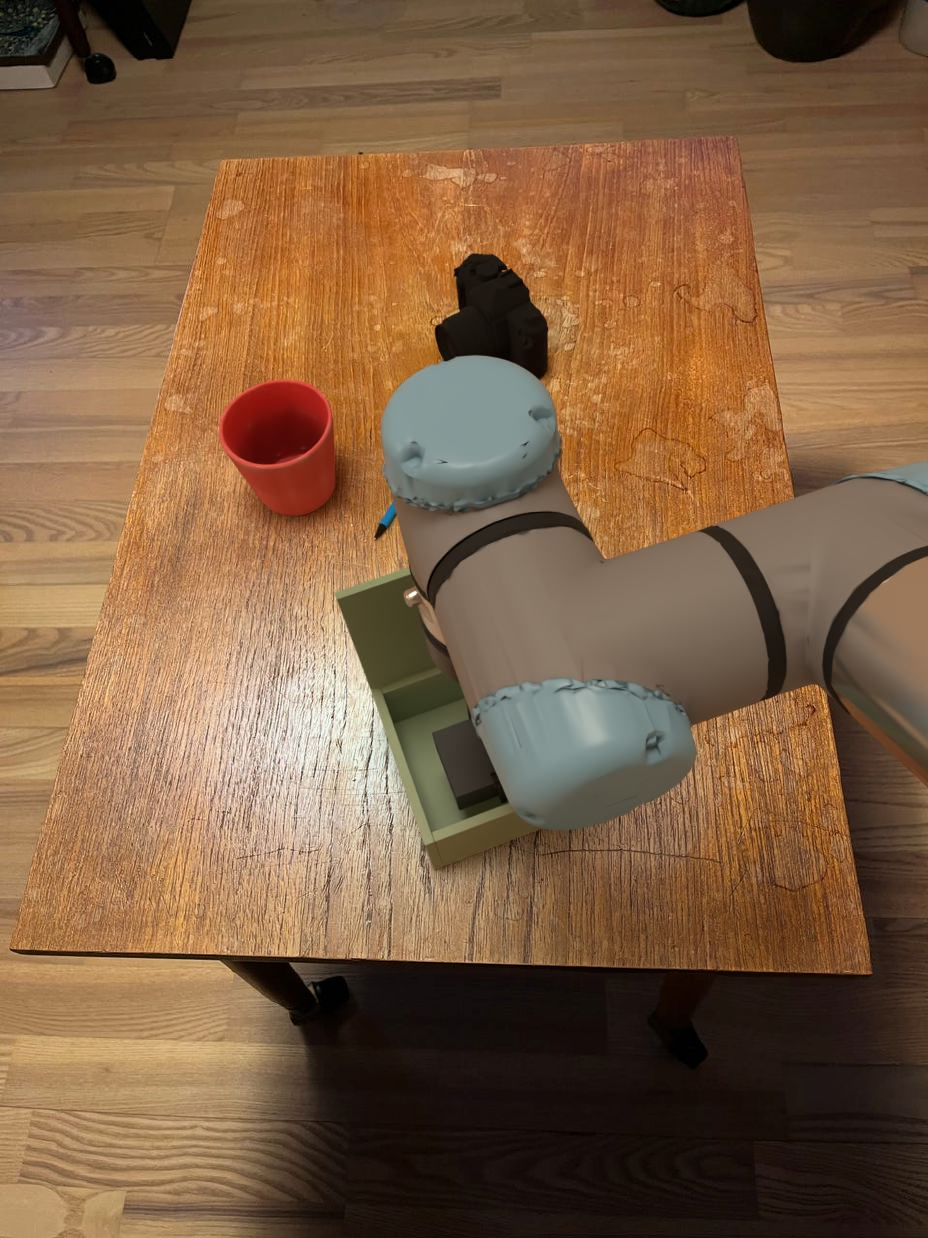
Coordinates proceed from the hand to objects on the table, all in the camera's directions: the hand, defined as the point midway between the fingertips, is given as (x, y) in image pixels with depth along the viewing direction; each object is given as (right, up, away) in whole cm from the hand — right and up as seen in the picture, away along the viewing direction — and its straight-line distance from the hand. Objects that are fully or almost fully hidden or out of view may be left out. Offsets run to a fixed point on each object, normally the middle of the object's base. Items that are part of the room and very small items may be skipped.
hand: (501, 756), depth 70 cm
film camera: (-1, +40, +30) cm, 50 cm away
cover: (-3, +11, -3) cm, 12 cm away
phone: (0, 0, 0) cm, 0 cm away
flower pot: (-20, +24, +22) cm, 38 cm away
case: (0, -1, +6) cm, 6 cm away
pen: (-7, +26, +23) cm, 35 cm away
